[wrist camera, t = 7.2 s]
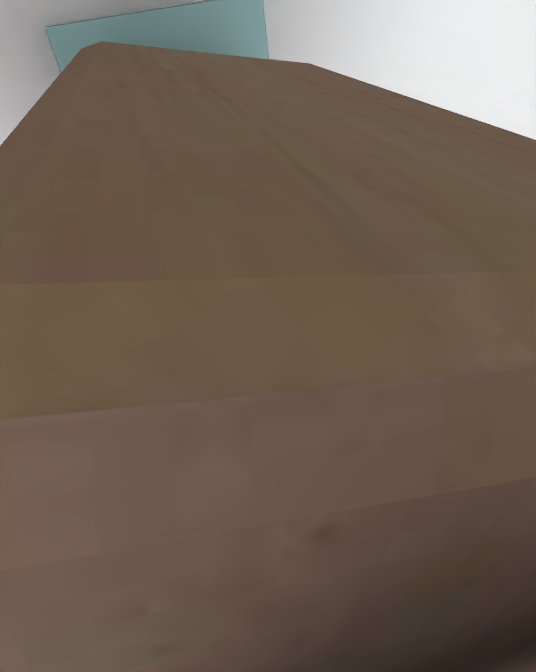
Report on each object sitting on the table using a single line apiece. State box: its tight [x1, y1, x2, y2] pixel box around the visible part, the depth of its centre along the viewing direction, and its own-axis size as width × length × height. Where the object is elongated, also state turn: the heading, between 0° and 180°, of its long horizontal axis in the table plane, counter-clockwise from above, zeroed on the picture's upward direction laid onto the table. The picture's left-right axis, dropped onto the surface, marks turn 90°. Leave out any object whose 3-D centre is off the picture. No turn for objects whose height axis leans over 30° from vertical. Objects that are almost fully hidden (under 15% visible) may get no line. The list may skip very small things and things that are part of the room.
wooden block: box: [0, 41, 536, 672], centre depth 13 cm, size 10×10×20 cm
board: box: [45, 0, 269, 72], centre depth 29 cm, size 12×12×1 cm
